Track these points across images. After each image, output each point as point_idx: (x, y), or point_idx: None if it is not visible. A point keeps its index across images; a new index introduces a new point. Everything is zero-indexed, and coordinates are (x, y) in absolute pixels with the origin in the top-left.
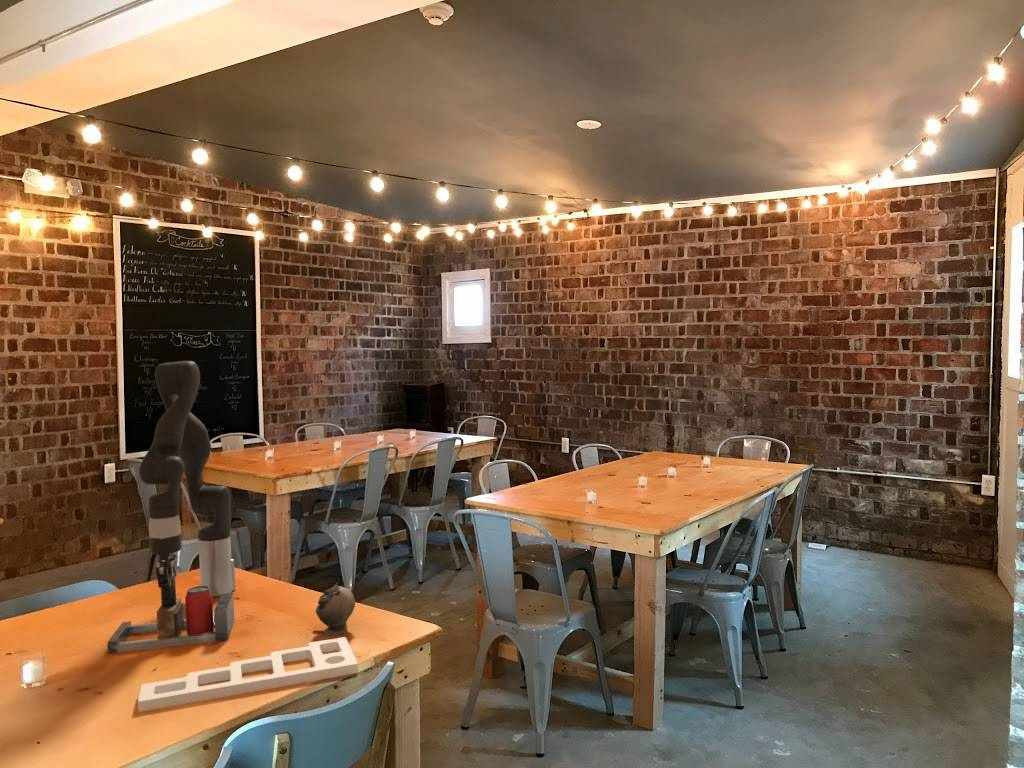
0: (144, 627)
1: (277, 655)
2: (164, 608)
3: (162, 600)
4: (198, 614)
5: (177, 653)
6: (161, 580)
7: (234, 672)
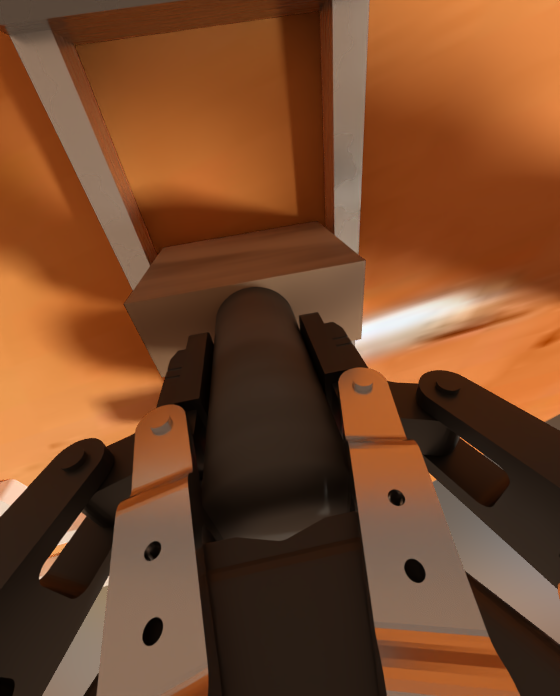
0: (330, 107)
1: (69, 538)
2: (190, 324)
3: (188, 340)
4: None
5: (94, 340)
6: (138, 487)
7: None
